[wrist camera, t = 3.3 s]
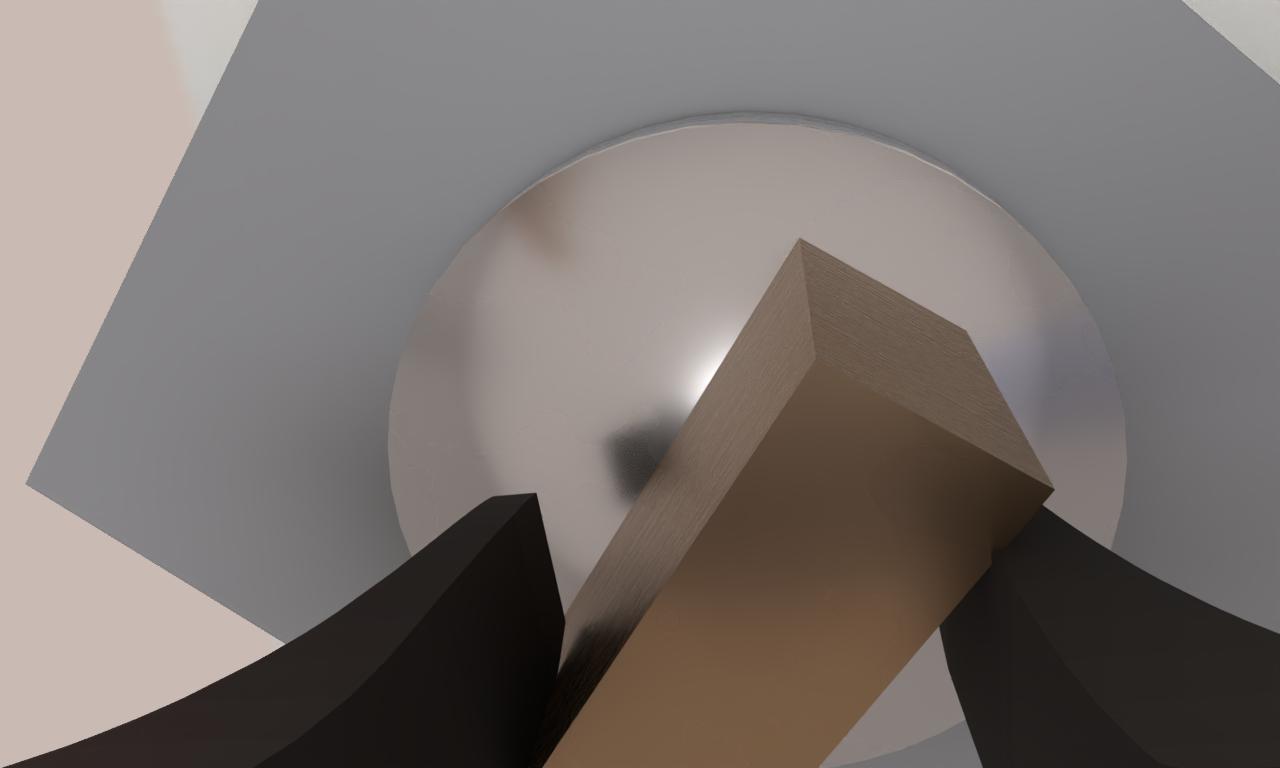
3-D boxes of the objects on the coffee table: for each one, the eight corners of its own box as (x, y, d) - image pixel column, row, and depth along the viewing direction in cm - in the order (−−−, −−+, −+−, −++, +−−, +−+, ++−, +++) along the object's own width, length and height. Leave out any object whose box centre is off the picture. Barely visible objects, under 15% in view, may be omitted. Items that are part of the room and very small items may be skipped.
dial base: (1573, 368, 14) (1674, 417, 12) (850, 925, 20) (857, 1004, 19) (556, -497, 11) (525, -569, 10) (82, 444, 18) (17, 490, 16)
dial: (1265, 348, 13) (1548, 564, 8) (847, 815, 17) (878, 1134, 12) (592, -40, 12) (482, -44, 7) (320, 553, 16) (140, 791, 11)
